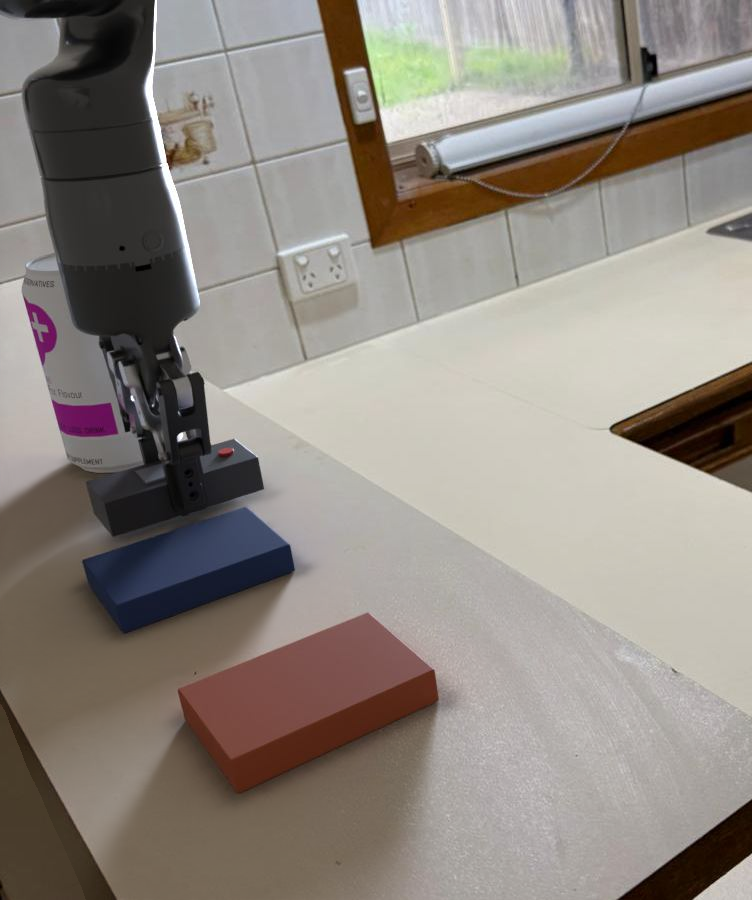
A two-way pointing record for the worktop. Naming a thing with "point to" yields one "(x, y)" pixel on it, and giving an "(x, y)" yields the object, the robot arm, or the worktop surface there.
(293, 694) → the red rectangular block
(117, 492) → the remote
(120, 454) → the supplement can
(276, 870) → the worktop surface
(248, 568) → the blue flat block
